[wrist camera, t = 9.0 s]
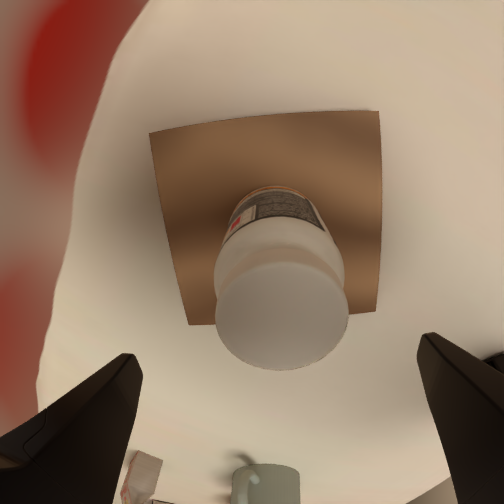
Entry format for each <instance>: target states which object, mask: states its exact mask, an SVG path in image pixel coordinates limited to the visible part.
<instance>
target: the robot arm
mask: <svg viewBox="0 0 504 504" xmlns="http://www.w3.org/2000/svg"><path fill="white" fill-rule="evenodd" d="M417 362H418V366H419V370H420V374H421V378H422V382H423V386H424V390H425V394H426V398H427V401H428V404H429V407H430V410H431V413H432V416H433V419H434V422H435V425H436V428H437V431H438V434H439V437H440V440H441V443H442V446H443V450H444V453H445V456H446V460H447V463H448V467H449V470H450V474H451V477H452V481H453V485H454V489H455V493H456V497H457V501H458V504H504V354H503V355H500V356H497V357H494V358H490V359H487V360H484V361H481V360H479V359H478V358H476V357H475V356H473V355H471V354H470V353H468V352H466V351H465V350H463V349H462V348H460V347H458V346H457V345H455V344H453V343H452V342H450V341H448V340H447V339H445V338H444V337H442V336H440V335H439V334H437V333H435V332H431V333H425V334H423V335H422V337H421V340H420V344H419V348H418V351H417ZM142 380H143V373H142V370H141V368H140V365H139V363H138V361H137V359H136V356H135V355H134V354H130V353H122V354H120V355H119V356H118V357H116V358H115V359H113V360H112V361H111V362H109V363H108V364H107V365H105V366H104V367H102V368H101V369H100V370H98V371H97V372H95V373H94V374H93V375H91V376H90V377H89V378H87V379H86V380H84V381H83V382H82V383H80V384H79V385H77V386H76V387H75V388H73V389H72V390H70V391H69V392H68V393H66V394H65V395H64V396H62V397H61V398H59V399H58V400H57V401H55V402H54V403H52V404H51V405H50V406H48V407H47V409H46V408H45V409H44V410H43V411H41V412H40V413H38V414H37V415H35V416H34V417H33V418H31V419H30V420H28V421H27V422H25V423H23V424H22V425H20V426H18V427H17V428H15V429H13V430H12V431H10V432H8V433H6V434H5V435H3V436H1V437H0V504H112V503H113V499H114V495H115V491H116V487H117V483H118V479H119V475H120V471H121V468H122V464H123V460H124V457H125V453H126V449H127V446H128V442H129V439H130V435H131V432H132V428H133V425H134V421H135V417H136V413H137V407H138V402H139V396H140V391H141V386H142Z"/></svg>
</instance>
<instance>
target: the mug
mask: <svg viewBox="0 0 504 504" xmlns="http://www.w3.org/2000/svg"><path fill="white" fill-rule="evenodd" d="M230 504H300V476H299V473H298V472H297V471H296V470H295V469H293V468H290V467H287V466H283V465H276V464H256V465H249V466H245V467H242V468H239V469H238V470H236V471H235V472H234V474H233V483H232V492H231V501H230Z"/></svg>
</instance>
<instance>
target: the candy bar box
mask: <svg viewBox="0 0 504 504" xmlns="http://www.w3.org/2000/svg"><path fill="white" fill-rule="evenodd" d="M152 504H173V503H168V502H162V501H157V500H152Z"/></svg>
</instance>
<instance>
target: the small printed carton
mask: <svg viewBox="0 0 504 504" xmlns="http://www.w3.org/2000/svg"><path fill="white" fill-rule="evenodd" d="M162 462H163V460H161V459H159V458H156V457H154V456H151V455H149V454H146V453H144V452H142V451H139V450H138V452H137V454H136V455H135V457H134V459H133V460H132V462H131V463H130V466H129V469H128V472H127V475H126V478H125V480H124V483H123V486H122V489H121V492H120V495H121V500H122V504H143V503H144V502H145V501H146V500H148V499H149V498H150V497H151V496H152V495H153V494H154V492H155V488H156V484H157V481H158V477H159V473H160V470H161V466H162Z"/></svg>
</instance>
